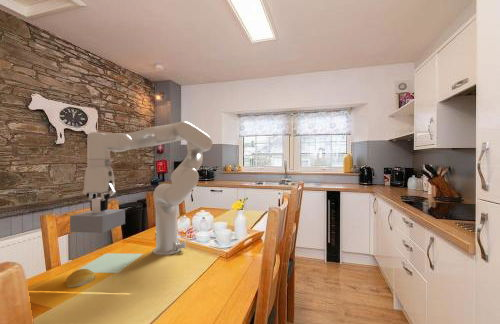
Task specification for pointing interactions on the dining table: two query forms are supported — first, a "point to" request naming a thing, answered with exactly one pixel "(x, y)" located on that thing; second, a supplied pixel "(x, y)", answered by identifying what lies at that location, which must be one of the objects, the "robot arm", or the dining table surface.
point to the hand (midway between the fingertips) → (99, 209)
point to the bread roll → (80, 278)
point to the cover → (97, 219)
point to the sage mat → (111, 263)
